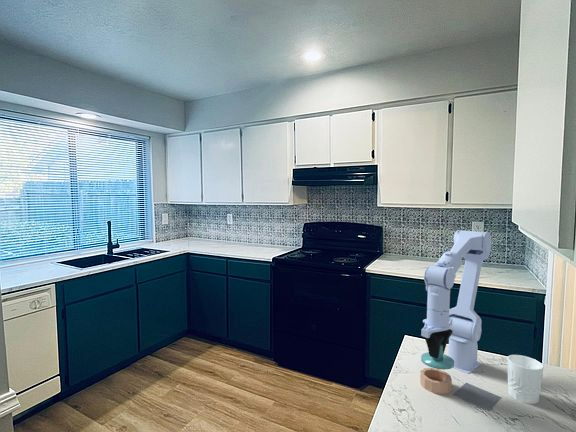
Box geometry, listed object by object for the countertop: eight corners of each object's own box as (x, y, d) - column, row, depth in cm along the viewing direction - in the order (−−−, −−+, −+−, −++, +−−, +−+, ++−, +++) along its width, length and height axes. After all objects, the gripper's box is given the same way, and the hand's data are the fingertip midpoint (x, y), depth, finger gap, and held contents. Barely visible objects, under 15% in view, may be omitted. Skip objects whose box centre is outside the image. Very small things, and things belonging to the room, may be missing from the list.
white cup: (548, 408, 84) (550, 371, 83) (514, 404, 85) (515, 367, 85) (531, 390, 91) (533, 356, 91) (500, 387, 93) (502, 353, 92)
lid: (431, 352, 98) (431, 336, 98) (460, 363, 91) (460, 346, 91) (415, 360, 93) (415, 344, 93) (444, 372, 86) (444, 355, 86)
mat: (466, 383, 94) (466, 382, 94) (501, 398, 87) (501, 397, 87) (452, 395, 89) (452, 394, 89) (489, 412, 82) (489, 411, 82)
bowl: (428, 375, 98) (429, 365, 98) (455, 387, 92) (456, 376, 92) (415, 385, 93) (415, 374, 93) (442, 399, 87) (443, 386, 87)
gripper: (436, 299, 99) (434, 342, 100) (411, 310, 90) (410, 357, 91) (460, 305, 94) (458, 351, 94) (436, 317, 84) (434, 367, 85)
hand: (436, 355), depth 92 cm, fingers closed on lid, 3 cm apart
